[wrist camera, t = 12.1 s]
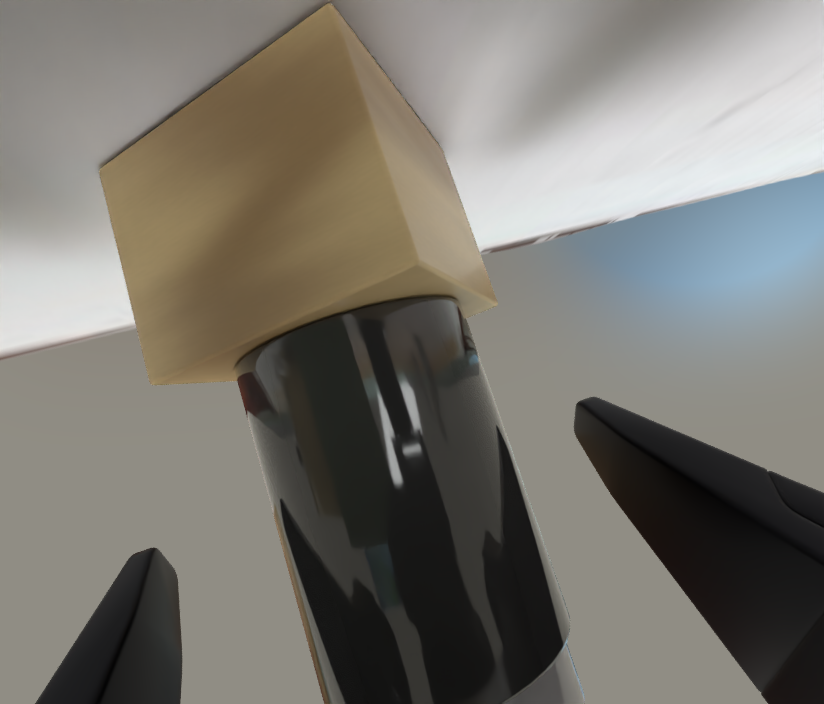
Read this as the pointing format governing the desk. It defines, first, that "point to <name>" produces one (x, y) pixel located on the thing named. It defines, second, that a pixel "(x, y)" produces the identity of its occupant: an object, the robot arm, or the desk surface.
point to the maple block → (284, 207)
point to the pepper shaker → (405, 512)
